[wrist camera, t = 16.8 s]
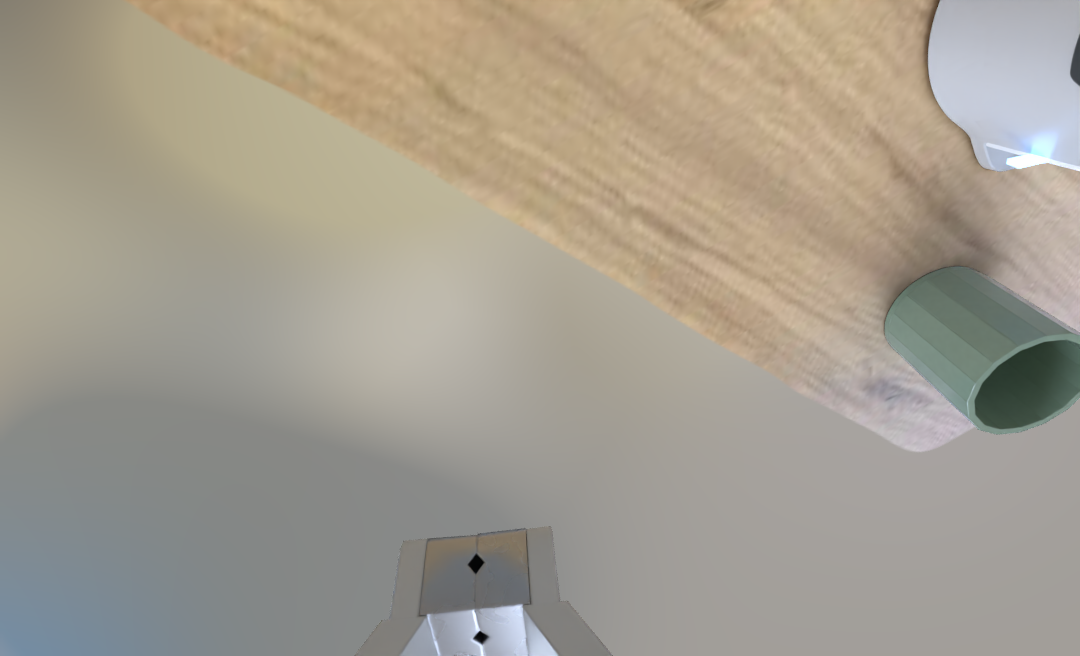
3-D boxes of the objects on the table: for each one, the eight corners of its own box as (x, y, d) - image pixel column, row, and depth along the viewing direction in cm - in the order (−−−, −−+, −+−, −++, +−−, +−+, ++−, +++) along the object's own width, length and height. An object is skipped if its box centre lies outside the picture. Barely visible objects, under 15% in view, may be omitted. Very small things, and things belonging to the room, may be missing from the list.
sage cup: (1006, 261, 43) (1123, 328, 35) (968, 350, 48) (1065, 428, 40) (900, 270, 43) (994, 340, 35) (872, 359, 47) (950, 439, 39)
